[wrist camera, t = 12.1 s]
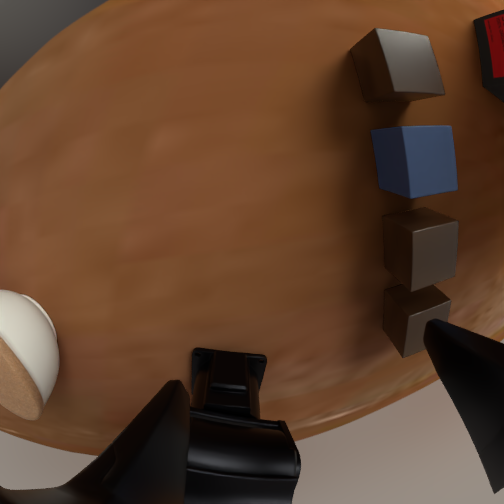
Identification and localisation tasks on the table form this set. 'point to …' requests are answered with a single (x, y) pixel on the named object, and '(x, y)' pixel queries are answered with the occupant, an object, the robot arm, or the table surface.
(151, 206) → the table surface
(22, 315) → the lidded bowl
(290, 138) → the table surface
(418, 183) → the blue block
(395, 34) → the walnut block
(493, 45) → the cleaning product box
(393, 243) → the walnut block
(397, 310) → the walnut block
